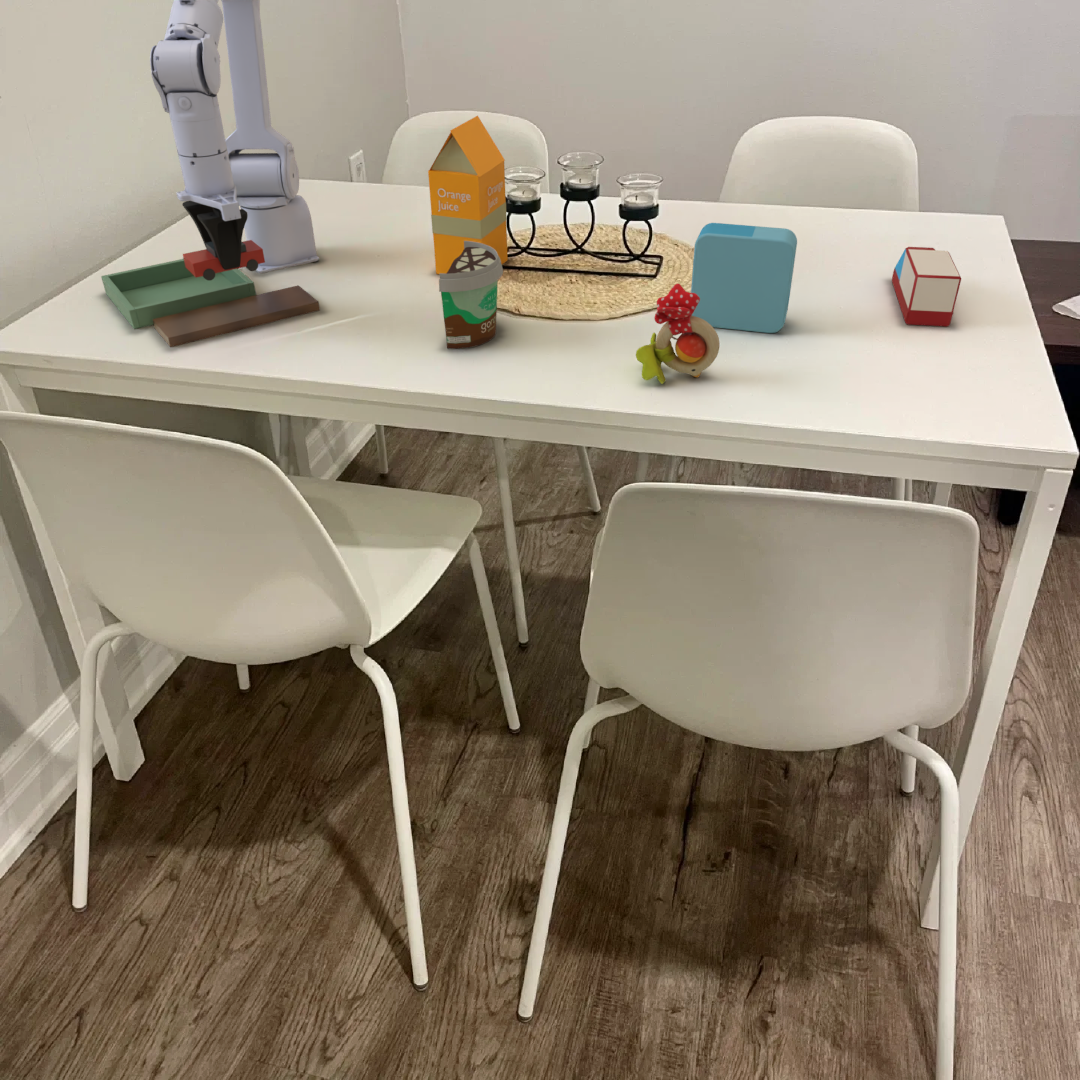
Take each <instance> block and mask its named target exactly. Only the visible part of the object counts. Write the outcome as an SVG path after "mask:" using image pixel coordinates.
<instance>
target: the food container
mask: <svg viewBox="0 0 1080 1080" xmlns="http://www.w3.org/2000/svg"><path fill="white" fill-rule="evenodd" d="M503 274H504V268H503V264H501V260H500V257H499V256H498V254H497V251H496V250H495V249H493V248H492V247H490V246H488V245H485V244H482V243H478V242H472V241H464V250H463V252H462V253H461V255H460V256H459V257H457V258H456V259H455V260H454V261H453V263H452V265H451V267H450V269H449V270H448V272H447V273H446V274H445V273H439V274H438V275H439V276H438V277H439V279H438V292H440V294H441V296H440V297H441V305H442V315H443V322H444V323H443V324H444V332H445V340H446V349H453V350H455V349H456V350H457V349H470V348H473V347H478V346H482V345H484V344H486V343H489V342H490V341H491V340H493V339H494V338H495V337H496V334H497V313H498V312H497V311H498V309H497V308H498V284H499V283H498V280H500V279H501V278H502V276H503Z"/></svg>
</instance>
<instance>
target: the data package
mask: <svg viewBox="0 0 1080 1080" xmlns="http://www.w3.org/2000/svg"><path fill="white" fill-rule="evenodd" d="M797 246H798V238H797V236H796V234H795V233H794V231H792V230H791V229H789V228H785V227H771V226H760V225H757V226H756V225H746V224H732V223H721V222H709V223H707V224H705V225H704V226H703V227H702V228H701V230H700V232H699V234H698V236H697V237H696V240H695V242H694V250H693V261H692V275H691V287H690V293H695V294H697V295H698V296H699V298H700V301H699V303H698V305H697V307H696V309H695V310H694V312H693V314H692V316H695V317H699V318H701V319H703V320H705V321H706V322H708V323H709V324H710V325H711V326H712V327H713V328H717V329H726V330H737V331H747V332H754V333H756V332H757V333H766V334H775V333H778V332H779V331H781V330H782V329H783V328H784V326H785V323H786V319H787V315H788V310H789V304H790V297H791V289H792V282H793V275H794V268H795V261H796V254H797V253H796V252H797Z"/></svg>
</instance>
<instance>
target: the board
mask: <svg viewBox="0 0 1080 1080" xmlns="http://www.w3.org/2000/svg"><path fill="white" fill-rule="evenodd" d="M319 311H321V309H320V303H319V300H317V299H316V298H315V297H314V296H312V295H311V294H310V293H309V292H307V291H306V290H305V289H303V287H301V286H300V285H298V284H297V285H294V286H289V287H284V288H281V289H276V290H272V291H268V292H264V293H259V294H256V295H254V296H250V297H246V298H242V299H237V300H233V301H229V302H224V303H220V304H216V305H212V306H207V307H203V308H199V309H194V310H190V311H186V312H182V313H177V314H173V315H169V316H164V317H160V318H156V319H153V324H154V325H153V327H154V329H155V330H156V332H157V333H158V334H159V336H161V338H162V340H163V341H165V342H166V344H167V346H169V347H170V348H174V347H177V346H183V345H185V344H190V343H194V342H197V341H202V340H206V339H210V338H215V337H218V336H222V335H227V334H230V333H235V332H238V331H242V330H246V329H251V328H255V327H258V326H262V325H266V324H270V323H274V322H277V321H278V322H279V321H283V320H286V319H292V318H295V317H298V316H303V315H307V314H311V313H315V312H319Z"/></svg>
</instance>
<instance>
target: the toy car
mask: <svg viewBox="0 0 1080 1080" xmlns="http://www.w3.org/2000/svg"><path fill="white" fill-rule="evenodd" d="M205 244H206V247H205V249H200V250H195V251H192V252H186V253H185V252H184V253H182V256H183V257H182V259H184V262H185V267H186V268H187V269H188V270H189V271H190V272H191V273H192V274H193V275H194V276H195V277H201V276H203V277H204V278H205V279H206V280H209V281H210V280H213V279H214V278H215V273H219V272H224V271H228V270H233V269H242V268H246V269H247V270H249V271H250V272H256V271H255V270H256V269H257V268H258V264H261V263H265V259H264V254H263V249H262V248H261V247H259V246H258V245H257V244H256V243H254V242H253V241H252V240H248V241H246V240H244V241H241V263H240V267H237V268H232V269H227V270H224V269H223V267H222V266H221V264H220V261H219V259H218V256H217V254H216V251H215V248H214V245H213V242H207V243H205ZM205 244H204V245H205Z"/></svg>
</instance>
